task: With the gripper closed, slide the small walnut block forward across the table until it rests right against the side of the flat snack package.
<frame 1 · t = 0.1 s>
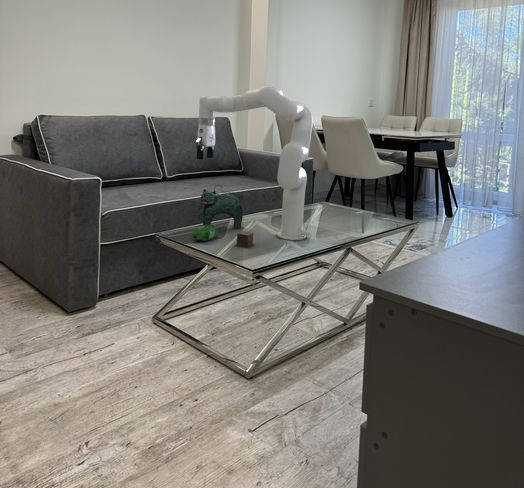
hand: (205, 158, 235), 31 cm above the table, tool pointing down, fingers open, 9 cm apart
walnut block: (244, 245, 203), on the table
snack package: (205, 239, 209), on the table
ceramic cat: (220, 227, 231), on the table
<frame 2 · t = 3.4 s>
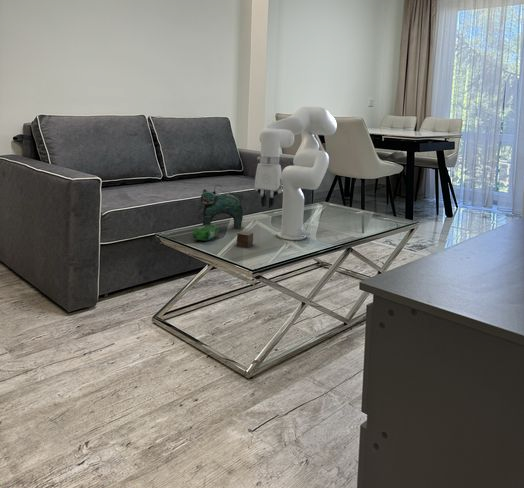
hand: (267, 206, 198), 17 cm above the table, tool pointing down, fingers closed
nothing on the table moved.
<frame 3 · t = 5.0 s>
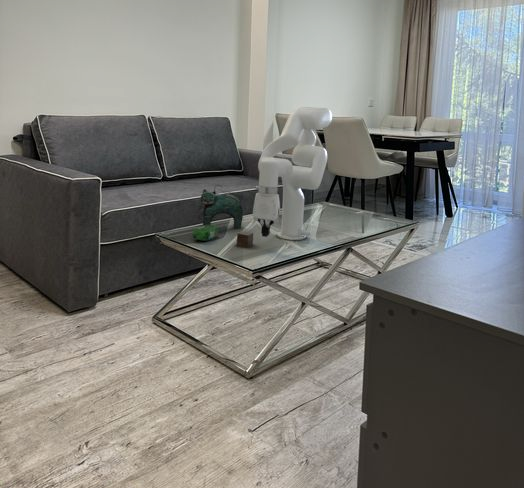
hand: (265, 235, 199), 5 cm above the table, tool pointing down, fingers closed
nothing on the table moved.
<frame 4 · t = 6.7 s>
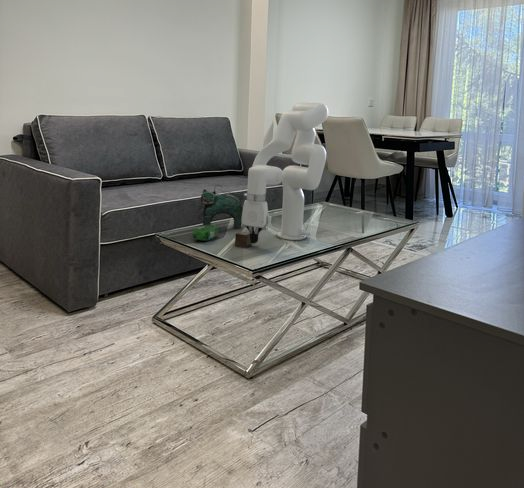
hand: (253, 242, 201), 2 cm above the table, tool pointing down, fingers closed
walnut block: (242, 245, 203), on the table, touching gripper
everything else where it was.
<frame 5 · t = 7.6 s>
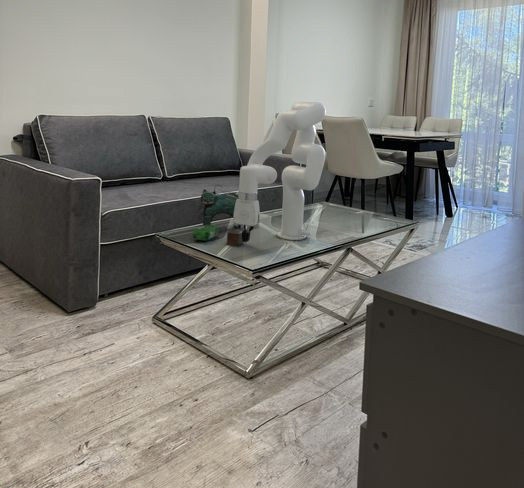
hand: (245, 241, 202), 2 cm above the table, tool pointing down, fingers closed
walnut block: (234, 243, 204), on the table, touching gripper
everything else where it was.
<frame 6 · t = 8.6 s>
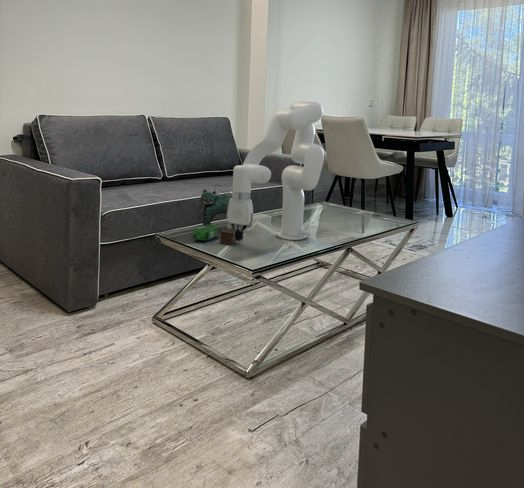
hand: (238, 240, 203), 2 cm above the table, tool pointing down, fingers closed
walnut block: (228, 242, 205), on the table, touching gripper
everything else where it was.
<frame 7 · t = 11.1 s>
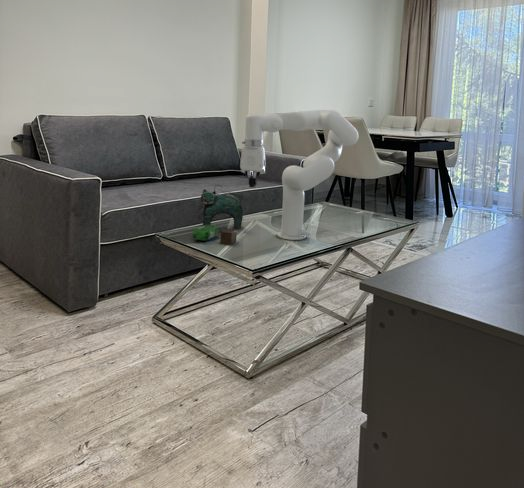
hand: (252, 186, 211), 23 cm above the table, tool pointing down, fingers closed
walnut block: (228, 242, 205), on the table
everything else where it was.
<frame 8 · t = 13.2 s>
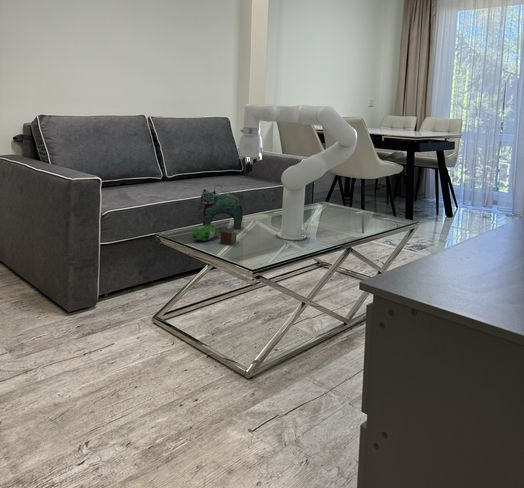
hand: (249, 172, 223), 27 cm above the table, tool pointing down, fingers closed
nothing on the table moved.
at the end: walnut block 0.3 cm from the target spot, on the table; walnut block 10.7 cm from the snack package (horizontally); snack package moved 0.2 cm from its start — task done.
